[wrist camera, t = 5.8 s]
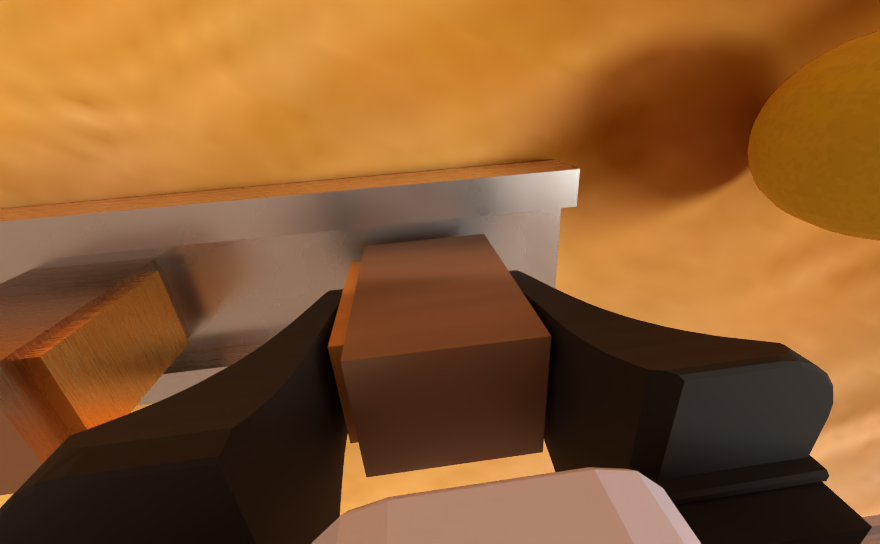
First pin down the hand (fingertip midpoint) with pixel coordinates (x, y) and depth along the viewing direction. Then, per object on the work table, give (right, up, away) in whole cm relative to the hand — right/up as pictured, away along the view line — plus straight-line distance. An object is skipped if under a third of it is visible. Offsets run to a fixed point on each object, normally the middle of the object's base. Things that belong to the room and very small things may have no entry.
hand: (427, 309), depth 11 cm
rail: (-6, +1, +3) cm, 7 cm away
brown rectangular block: (0, +1, +2) cm, 2 cm away
